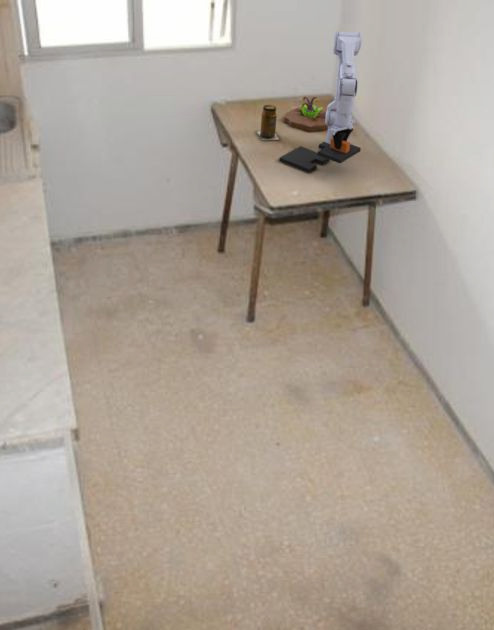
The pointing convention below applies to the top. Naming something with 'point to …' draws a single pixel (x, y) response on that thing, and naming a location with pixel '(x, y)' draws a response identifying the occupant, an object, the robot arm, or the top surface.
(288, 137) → the top surface
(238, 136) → the top surface
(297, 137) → the top surface
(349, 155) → the charcoal pad
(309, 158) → the black pad
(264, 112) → the condiment
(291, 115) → the plant
